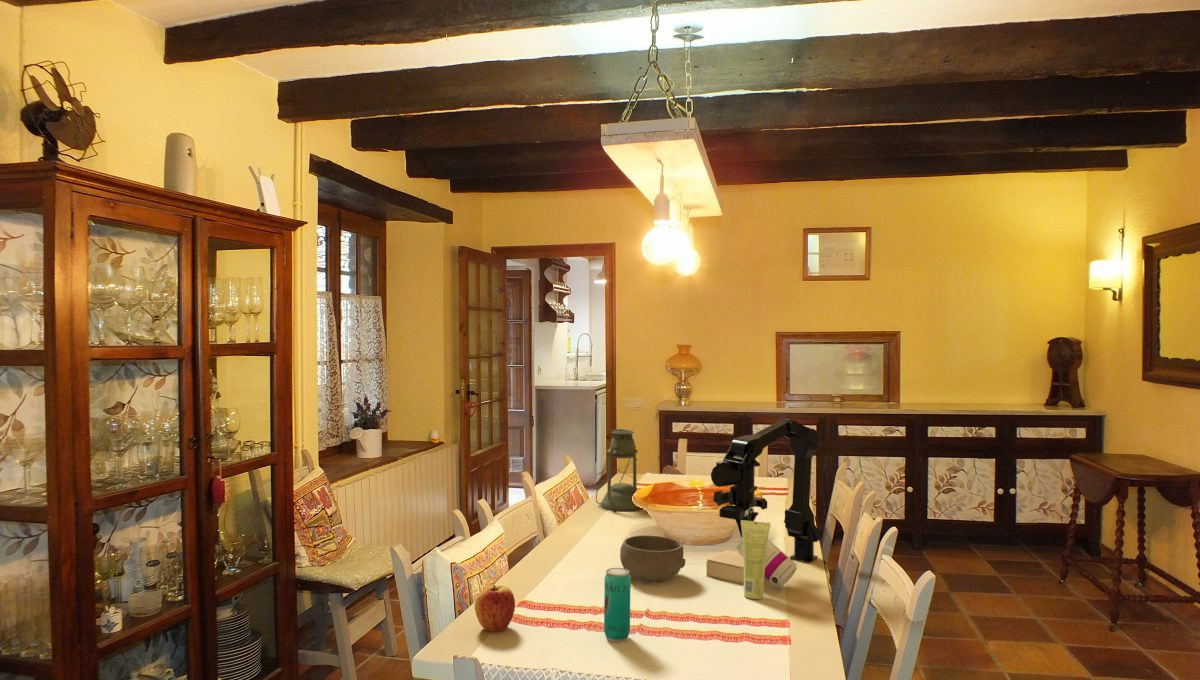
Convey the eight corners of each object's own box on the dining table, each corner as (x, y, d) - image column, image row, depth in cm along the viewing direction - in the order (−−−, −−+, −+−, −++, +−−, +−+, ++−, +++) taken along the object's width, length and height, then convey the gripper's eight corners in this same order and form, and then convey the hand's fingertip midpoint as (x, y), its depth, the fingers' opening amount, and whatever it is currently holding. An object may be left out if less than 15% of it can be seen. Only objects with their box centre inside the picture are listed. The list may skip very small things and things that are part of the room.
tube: (757, 591, 201) (758, 517, 201) (769, 598, 196) (770, 522, 196) (739, 594, 198) (740, 519, 198) (751, 601, 194) (752, 524, 194)
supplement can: (793, 568, 197) (748, 528, 205) (774, 592, 199) (731, 551, 206) (801, 564, 204) (758, 526, 212) (783, 587, 206) (741, 548, 213)
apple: (480, 639, 168) (480, 594, 168) (470, 624, 176) (470, 581, 176) (519, 633, 172) (520, 589, 172) (508, 619, 180) (508, 577, 180)
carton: (726, 565, 223) (726, 549, 223) (771, 575, 215) (771, 558, 215) (706, 575, 214) (706, 559, 213) (752, 586, 205) (752, 569, 205)
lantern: (626, 514, 284) (627, 434, 284) (587, 508, 294) (588, 430, 294) (653, 504, 301) (654, 428, 301) (616, 498, 311) (616, 425, 311)
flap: (727, 551, 223) (727, 550, 223) (770, 559, 215) (770, 558, 215) (718, 555, 219) (718, 554, 219) (762, 564, 211) (762, 563, 211)
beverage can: (602, 633, 172) (603, 567, 172) (628, 633, 172) (628, 566, 172) (605, 644, 166) (605, 575, 166) (631, 643, 167) (632, 575, 166)
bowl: (691, 573, 216) (692, 538, 216) (670, 592, 200) (670, 554, 200) (635, 564, 223) (635, 530, 223) (610, 582, 207) (610, 546, 207)
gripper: (733, 474, 228) (733, 526, 228) (702, 484, 213) (702, 540, 213) (768, 479, 221) (767, 532, 222) (738, 489, 206) (738, 547, 207)
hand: (743, 537), depth 216 cm, fingers closed
